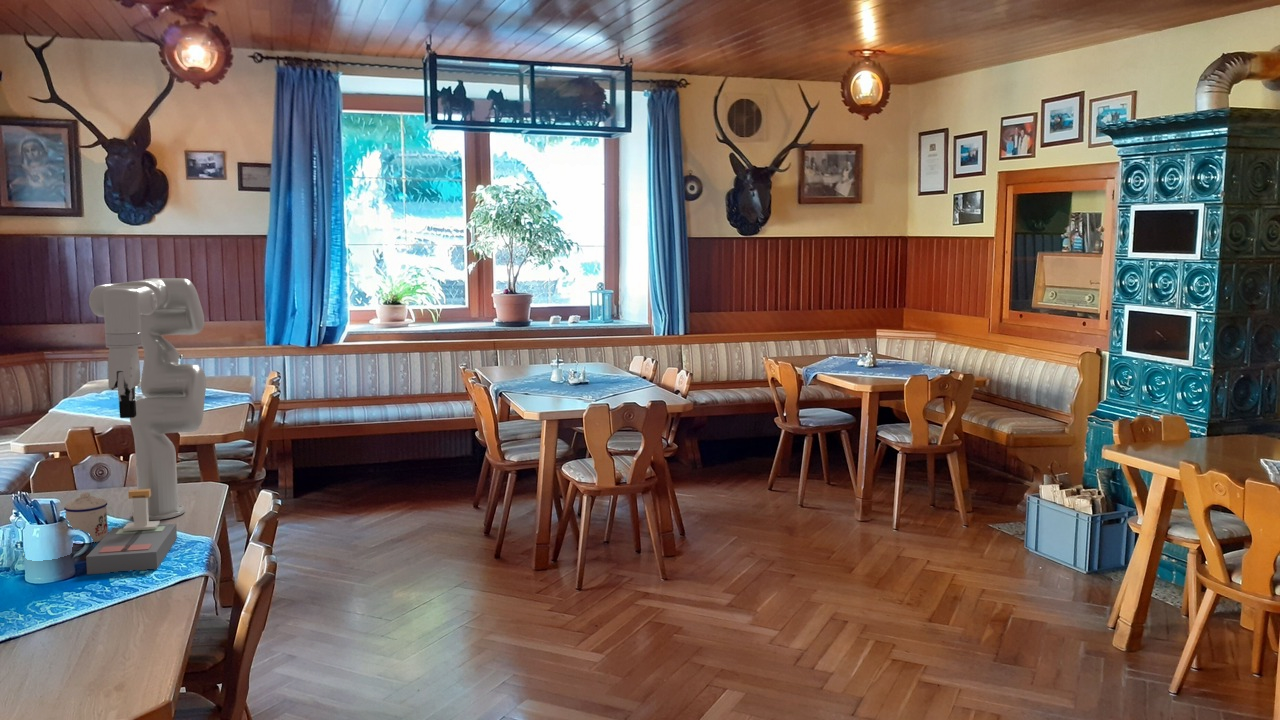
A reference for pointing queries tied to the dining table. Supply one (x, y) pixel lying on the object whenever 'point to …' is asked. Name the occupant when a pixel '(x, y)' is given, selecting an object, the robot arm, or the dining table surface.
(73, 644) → the dining table surface
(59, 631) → the dining table surface
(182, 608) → the dining table surface
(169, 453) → the robot arm
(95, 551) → the switch box
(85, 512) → the teacup with lid
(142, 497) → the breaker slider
